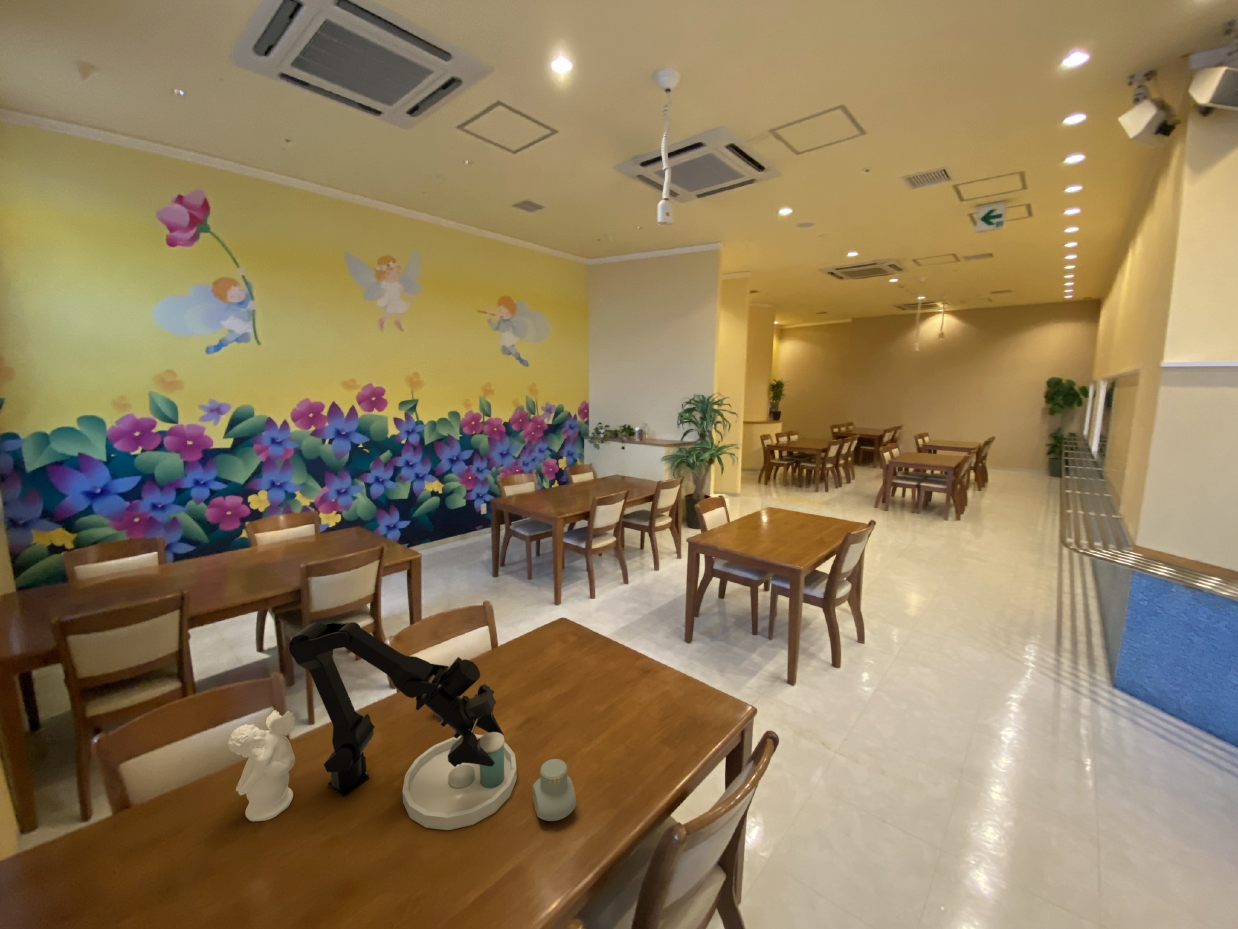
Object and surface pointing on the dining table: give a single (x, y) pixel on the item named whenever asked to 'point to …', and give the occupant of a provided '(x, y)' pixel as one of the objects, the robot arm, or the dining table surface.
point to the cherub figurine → (265, 765)
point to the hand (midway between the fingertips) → (497, 750)
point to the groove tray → (453, 789)
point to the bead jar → (495, 749)
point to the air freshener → (553, 791)
